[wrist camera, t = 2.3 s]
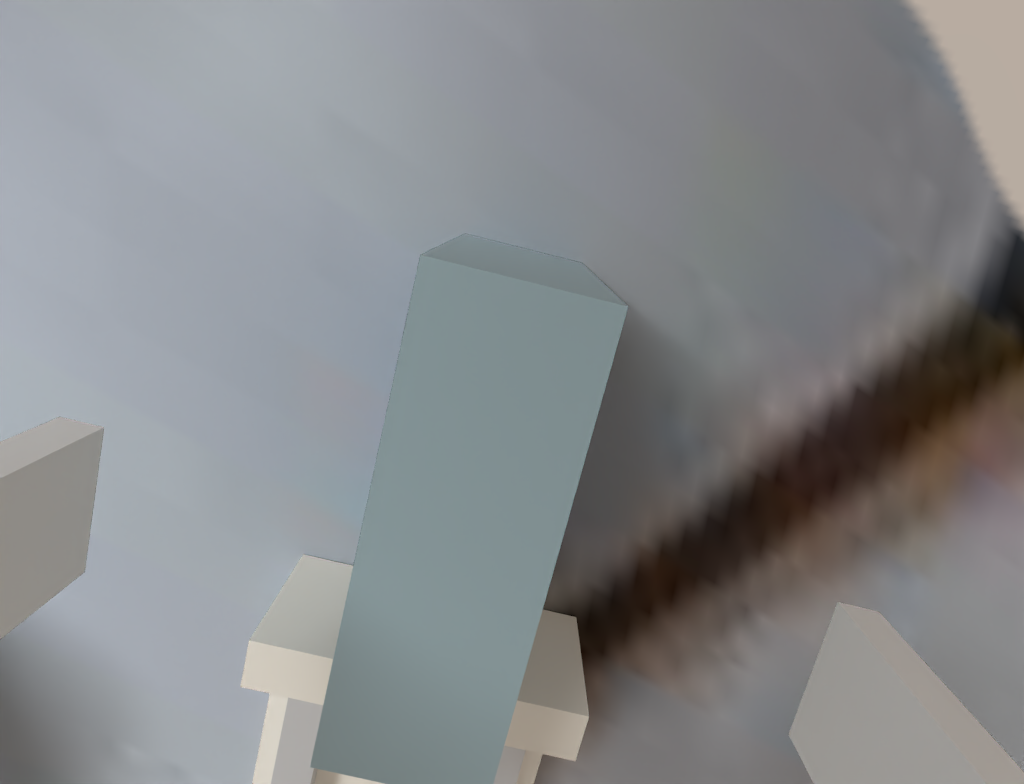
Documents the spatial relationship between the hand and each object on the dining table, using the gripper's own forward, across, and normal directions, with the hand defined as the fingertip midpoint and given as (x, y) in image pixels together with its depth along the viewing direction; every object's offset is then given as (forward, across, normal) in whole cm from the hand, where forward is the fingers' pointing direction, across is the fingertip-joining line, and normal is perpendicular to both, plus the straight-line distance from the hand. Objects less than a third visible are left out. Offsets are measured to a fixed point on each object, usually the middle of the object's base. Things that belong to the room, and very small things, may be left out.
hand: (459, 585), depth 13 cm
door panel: (+10, 0, +1) cm, 10 cm away
